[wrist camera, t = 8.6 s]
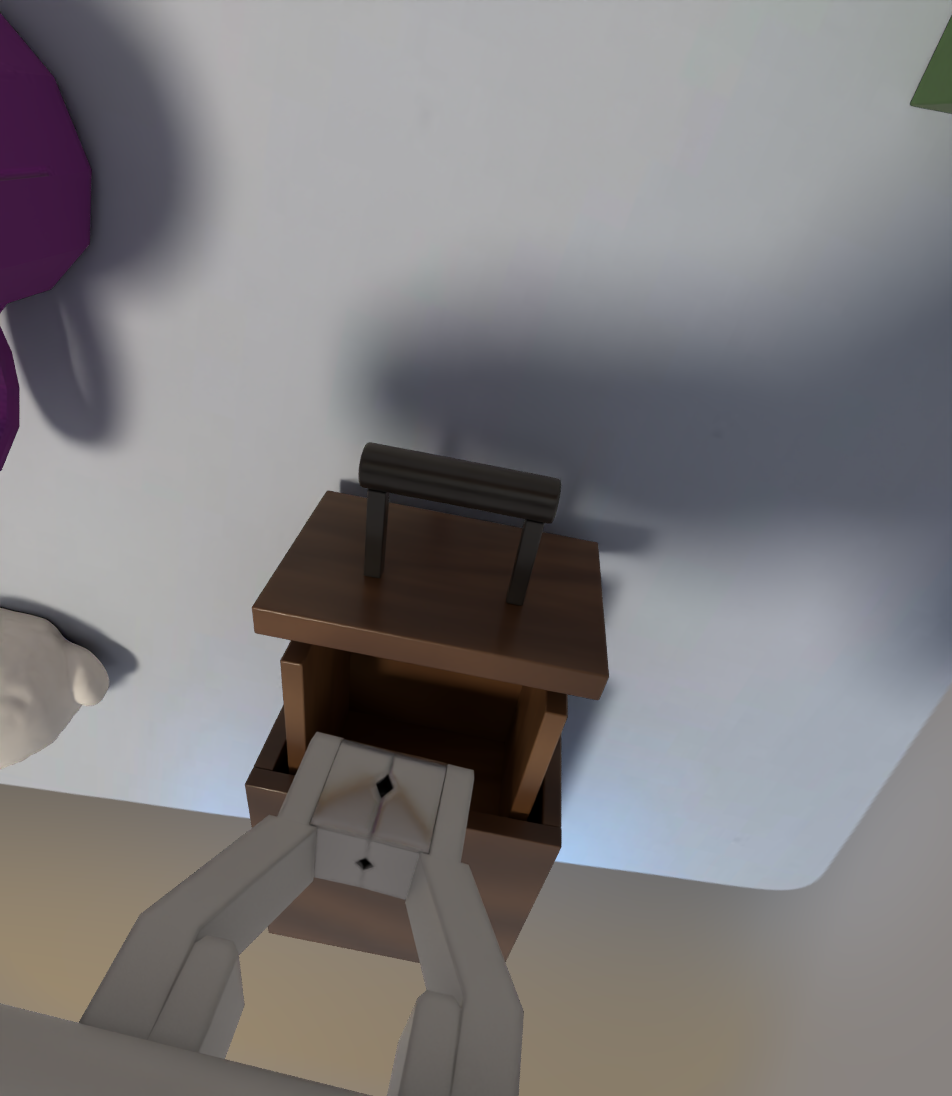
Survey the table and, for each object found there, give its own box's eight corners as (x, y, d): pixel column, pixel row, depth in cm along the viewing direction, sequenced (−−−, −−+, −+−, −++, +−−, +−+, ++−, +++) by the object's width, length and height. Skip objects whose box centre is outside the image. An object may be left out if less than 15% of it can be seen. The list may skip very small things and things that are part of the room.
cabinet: (321, 624, 30) (244, 784, 23) (562, 671, 30) (561, 847, 23) (324, 780, 39) (268, 932, 31) (510, 817, 39) (497, 979, 31)
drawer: (326, 374, 21) (235, 470, 15) (635, 434, 21) (663, 553, 15) (327, 697, 32) (275, 825, 26) (531, 737, 32) (524, 875, 26)
